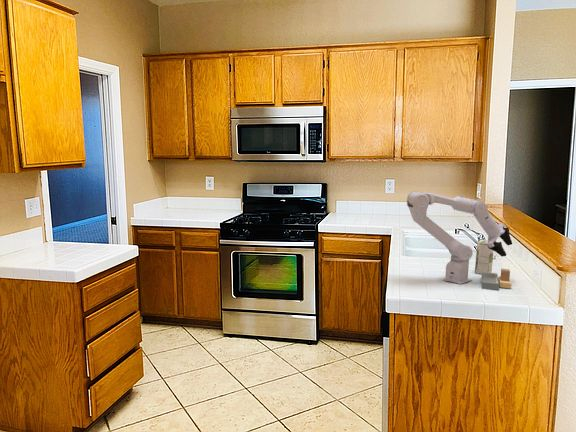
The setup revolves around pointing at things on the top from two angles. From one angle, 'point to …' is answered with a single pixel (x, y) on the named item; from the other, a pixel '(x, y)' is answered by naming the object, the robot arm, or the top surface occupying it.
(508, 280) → the stub
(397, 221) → the top surface
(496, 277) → the grey block
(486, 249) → the syrup box
